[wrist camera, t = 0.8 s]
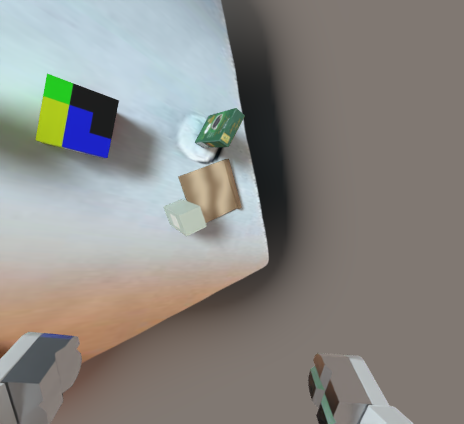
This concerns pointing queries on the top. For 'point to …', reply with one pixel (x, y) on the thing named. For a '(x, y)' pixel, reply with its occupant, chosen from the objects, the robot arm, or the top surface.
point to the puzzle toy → (76, 118)
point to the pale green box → (185, 217)
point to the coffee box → (220, 129)
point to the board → (212, 189)
